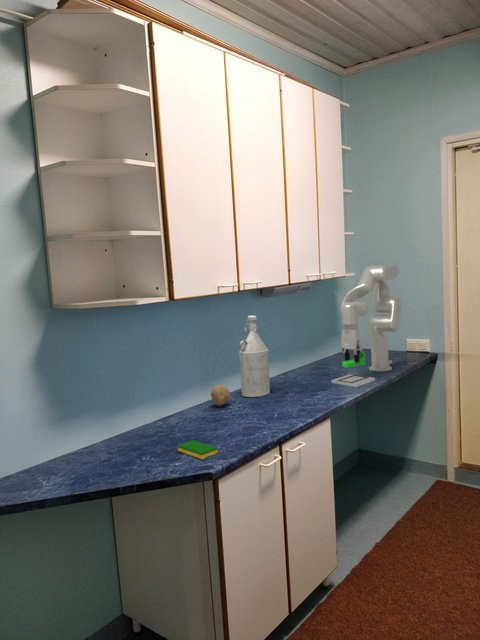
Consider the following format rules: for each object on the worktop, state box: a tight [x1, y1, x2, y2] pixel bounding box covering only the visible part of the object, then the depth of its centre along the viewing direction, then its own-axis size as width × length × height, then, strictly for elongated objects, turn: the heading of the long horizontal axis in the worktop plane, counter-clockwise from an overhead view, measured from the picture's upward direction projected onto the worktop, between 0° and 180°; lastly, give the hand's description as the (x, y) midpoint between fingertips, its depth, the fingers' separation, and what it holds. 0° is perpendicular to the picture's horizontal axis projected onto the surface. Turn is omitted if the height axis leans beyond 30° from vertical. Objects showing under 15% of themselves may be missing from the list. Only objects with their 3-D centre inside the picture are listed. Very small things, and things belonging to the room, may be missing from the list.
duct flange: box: [331, 374, 376, 388], centre depth 267 cm, size 16×16×2 cm
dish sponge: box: [177, 439, 218, 460], centre depth 179 cm, size 7×14×2 cm, turn 43°
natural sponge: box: [210, 384, 231, 407], centre depth 237 cm, size 9×9×10 cm
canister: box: [238, 315, 271, 398], centre depth 253 cm, size 13×17×40 cm
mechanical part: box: [341, 349, 366, 368], centre depth 266 cm, size 12×6×8 cm, turn 118°
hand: (352, 361), depth 266 cm, fingers closed on mechanical part, 6 cm apart
